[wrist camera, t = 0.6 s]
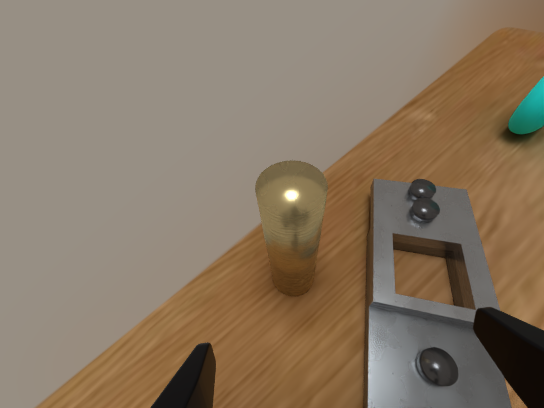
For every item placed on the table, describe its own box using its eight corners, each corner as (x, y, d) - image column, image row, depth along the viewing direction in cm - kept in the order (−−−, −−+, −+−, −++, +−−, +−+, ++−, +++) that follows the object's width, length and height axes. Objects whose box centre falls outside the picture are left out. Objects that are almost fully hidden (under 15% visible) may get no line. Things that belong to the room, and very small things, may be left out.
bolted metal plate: (521, 510, 16) (578, 540, 12) (362, 458, 18) (376, 472, 14) (452, 206, 29) (471, 183, 26) (367, 195, 31) (375, 172, 28)
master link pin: (316, 294, 24) (334, 211, 13) (274, 298, 25) (256, 218, 13) (310, 255, 27) (320, 157, 16) (271, 258, 27) (254, 163, 16)
